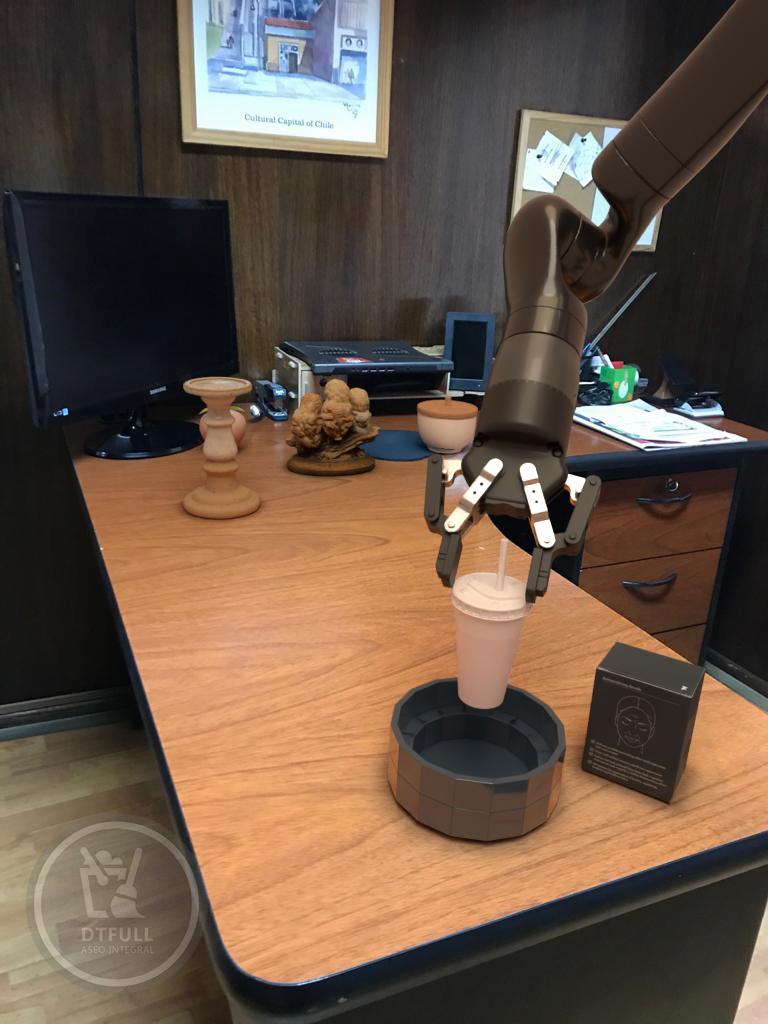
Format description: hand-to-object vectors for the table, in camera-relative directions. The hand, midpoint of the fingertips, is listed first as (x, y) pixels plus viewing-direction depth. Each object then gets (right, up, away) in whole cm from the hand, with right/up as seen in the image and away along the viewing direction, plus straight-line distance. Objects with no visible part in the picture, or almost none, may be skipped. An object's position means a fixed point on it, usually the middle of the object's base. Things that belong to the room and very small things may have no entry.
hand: (488, 591), depth 58 cm
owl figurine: (-17, +14, +91) cm, 94 cm away
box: (+14, -17, +11) cm, 25 cm away
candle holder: (-34, +7, +68) cm, 77 cm away
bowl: (0, -17, +8) cm, 19 cm away
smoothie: (0, -9, +5) cm, 11 cm away
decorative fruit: (-40, +18, +97) cm, 107 cm away
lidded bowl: (+5, +19, +106) cm, 108 cm away
